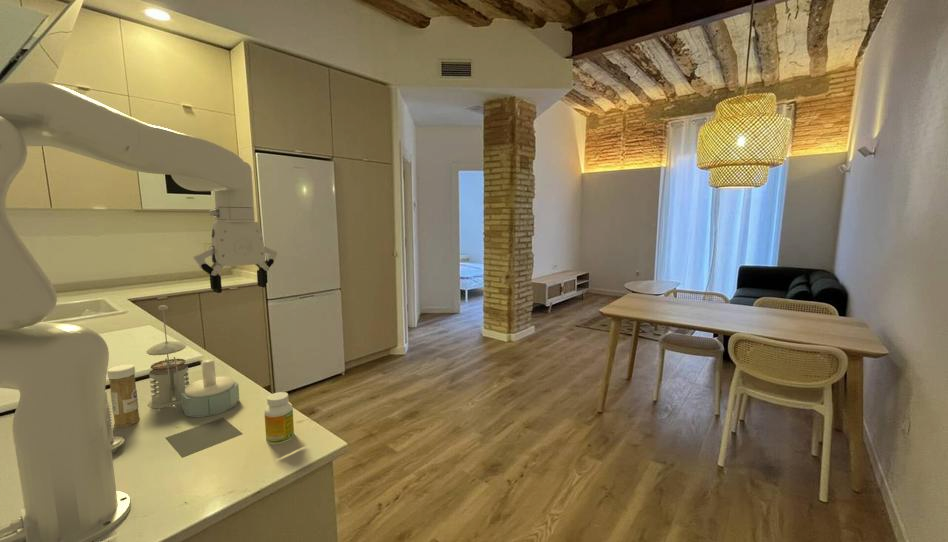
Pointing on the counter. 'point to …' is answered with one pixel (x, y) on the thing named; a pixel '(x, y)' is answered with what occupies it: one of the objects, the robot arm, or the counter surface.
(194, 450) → the mat
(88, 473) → the robot arm
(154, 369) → the french press
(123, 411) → the sprinkles bottle
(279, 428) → the supplement bottle
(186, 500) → the counter surface
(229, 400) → the bowl
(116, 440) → the screw
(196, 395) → the lid
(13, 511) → the counter surface
